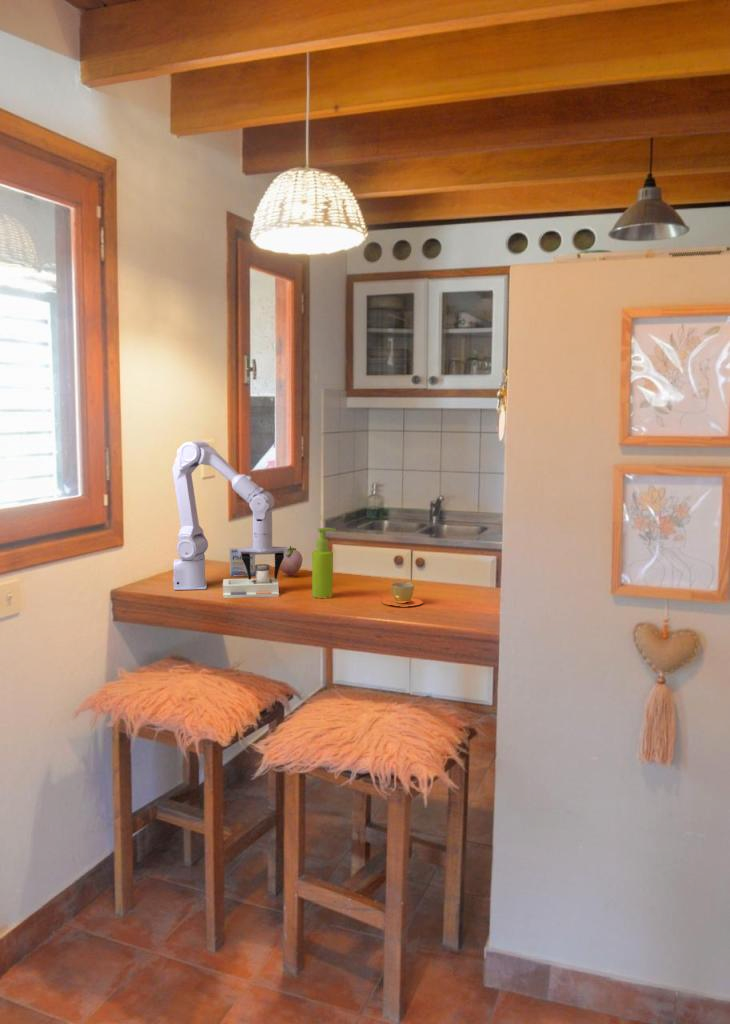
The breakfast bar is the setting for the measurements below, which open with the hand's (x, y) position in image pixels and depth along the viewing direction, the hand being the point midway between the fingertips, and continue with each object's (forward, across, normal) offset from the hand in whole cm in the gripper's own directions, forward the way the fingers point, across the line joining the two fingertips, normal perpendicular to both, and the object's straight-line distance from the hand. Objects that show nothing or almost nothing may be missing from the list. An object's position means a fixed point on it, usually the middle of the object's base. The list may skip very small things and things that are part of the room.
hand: (262, 578), depth 232 cm
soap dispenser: (+4, +17, -8) cm, 20 cm away
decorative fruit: (+4, +9, +20) cm, 22 cm away
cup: (+4, +38, -18) cm, 43 cm away
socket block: (+4, -4, -1) cm, 5 cm away
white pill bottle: (+3, 0, 0) cm, 3 cm away
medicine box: (+4, -6, +24) cm, 25 cm away
